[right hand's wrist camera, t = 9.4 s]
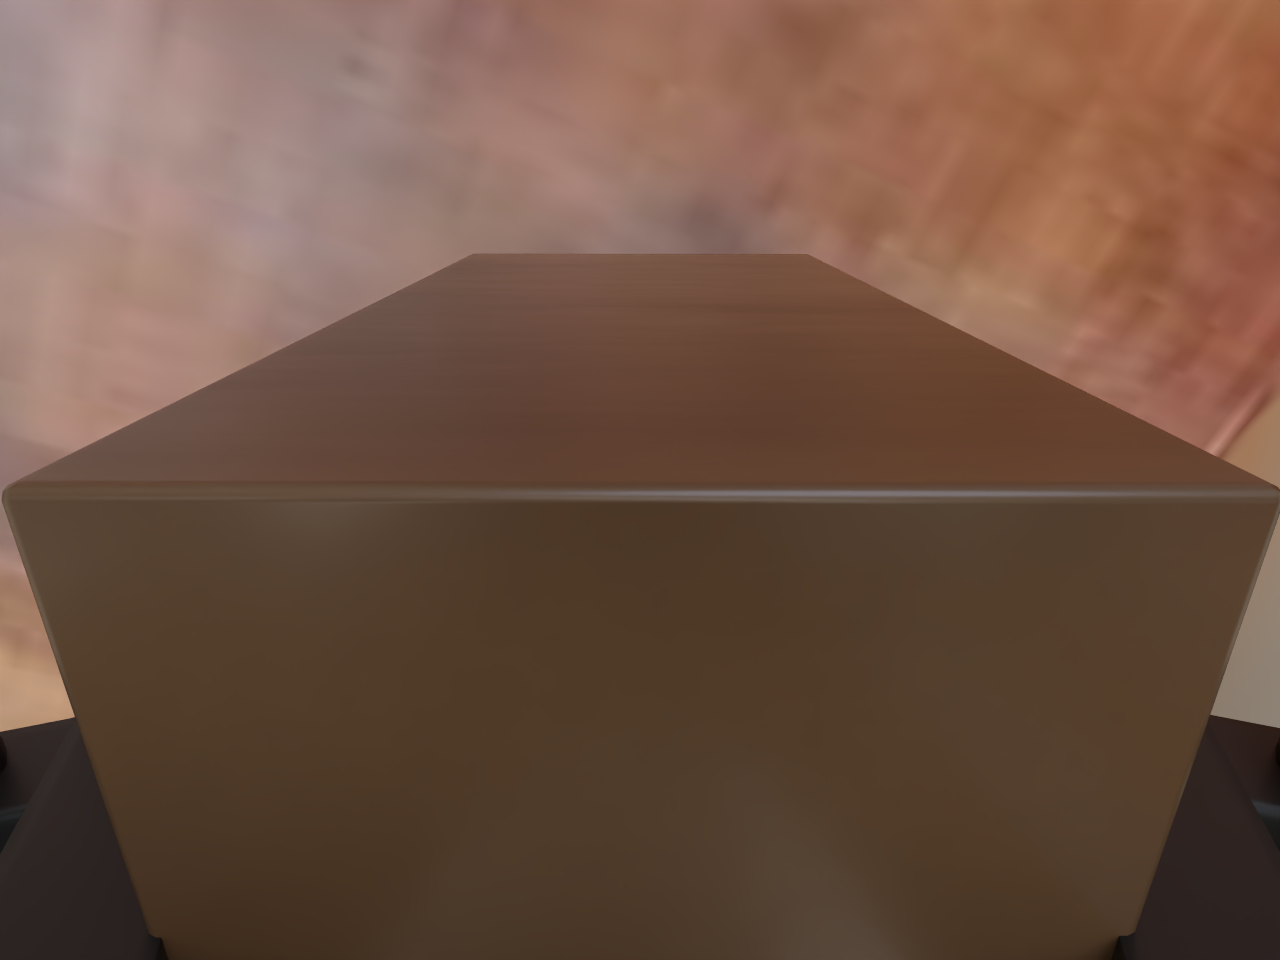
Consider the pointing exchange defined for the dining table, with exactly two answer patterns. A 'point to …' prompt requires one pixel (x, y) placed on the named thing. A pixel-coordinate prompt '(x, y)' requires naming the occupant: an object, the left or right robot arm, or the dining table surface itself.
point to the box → (641, 629)
